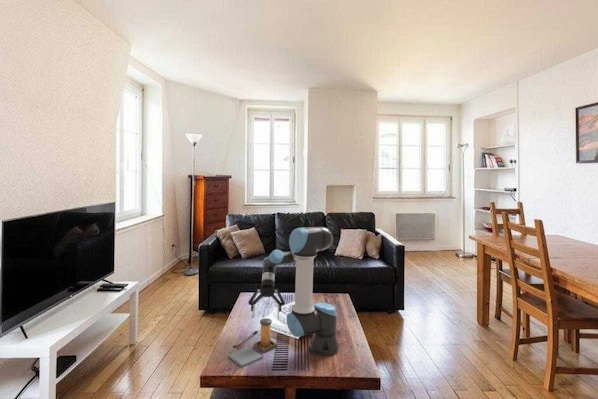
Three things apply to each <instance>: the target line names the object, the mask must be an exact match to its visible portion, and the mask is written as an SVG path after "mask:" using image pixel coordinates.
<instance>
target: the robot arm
mask: <svg viewBox="0 0 598 399" xmlns="http://www.w3.org/2000/svg"><path fill="white" fill-rule="evenodd" d="M333 241H334V237H333V233H332V232H331V231H330V230H329V229H328V228H327V227H324V226H310V227H309V226H307V227H306V226H305V227H297V228H295V229H293V230H292V231H291V233H290V235H289V238H288V245H289V249H290V251H289V250H288V251H282V250H280V249H274V250H272V251H271V253H270V254H269V256H266V257H264V258H263V261H262V274H261V275H262V276H261V285H260V286H261V287H260V289H259V288H257V287H256V288H255V291H254V293H253V294H252V296H251V297H250V299H249V300H248V305H249V306H250V311H251V312H252V319H254V318H255V313H256V312H255V311H256V304H257V303H258V302H259V301H260V300H261V299H262V298H272V299H273V300H274V301H275V302H276V304H277V315H276V316H277V319H279V318H280V313H281V312H282V307H283V306H285V305H286V304H285V301H284V298H283V296H282V294H281V292H280V288H277V289H275V276H276V269H277V267H278V266H282V265H283V266H284V265H292V264H295V282H294V283H295V290H294V304H293V305H292V306H291V311H290V312H289V313H287V315H286V325H287V327H288V330H289V333H290V334H291V335H292V336H293V337H295V338H298V337H304V336H307V335H312V337H311V341H310V345H309V348H310V351H311V352H312V353H314V354H316V355H319V356H334V355H336V354H338V352H339V351H340V344H339V341H338V338H337V337H338V336H337V317H338V314H337V308H336V306H334V305H332V304H330V303H326V302H315V303H314V305H313V288H314V287H313V286H314V284H313V283H314V280H313V279H314V259H315V258H316V257H317V256H318V252H322V251H324V250H325V251H326V250H327V249H329V248H330V247H331V246H332V244H333ZM275 293H276V294H277V296H278V298H277V296H276V295H275Z"/></svg>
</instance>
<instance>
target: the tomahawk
mask: <svg viewBox="0 0 598 399" xmlns="http://www.w3.org/2000/svg"><path fill="white" fill-rule="evenodd" d="M258 332H259V331H258V330H255V331H254V332H253V333H252V334H251V335H249V336H248V337H247V338H245V339H244V340H243V341H241V342H240V343H238V344H237V345H233V346H232V348H235V349H237V350H240V348H241V349H242V345H244V344H245V343H246V342H248V341H249V340H250V339H252V338H253V337H254V336H256V334H258Z"/></svg>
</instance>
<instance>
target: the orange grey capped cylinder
mask: <svg viewBox="0 0 598 399" xmlns="http://www.w3.org/2000/svg"><path fill="white" fill-rule="evenodd" d="M259 324H260V341H261V344H260V345H259V346H261V347H262V348H264V349H265V348H267V347H269V346H272V345H271V344H270V342H271V341H272V339H271V336H272V335H271V334H272V333H271V332H272V331H271V329H272V328H271V327H272V319H270V318H261V319H260V320H259Z"/></svg>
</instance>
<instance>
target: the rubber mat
mask: <svg viewBox="0 0 598 399" xmlns="http://www.w3.org/2000/svg"><path fill="white" fill-rule="evenodd" d="M228 358H229V359H230V360H232V361H233V362H234V363H236V364H237V365H238V366H240V367H241V368H244V367H247V366H248V365H251V364H253V363H255V362H257V361H260V360H262V359H263V358H264V357H263V355H261V354H260V353H258V352H256V350H254V349H252V348H251V347H245V348H243V349H239V350H238V351H235V352H233V353H231V354H229V355H228Z"/></svg>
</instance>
